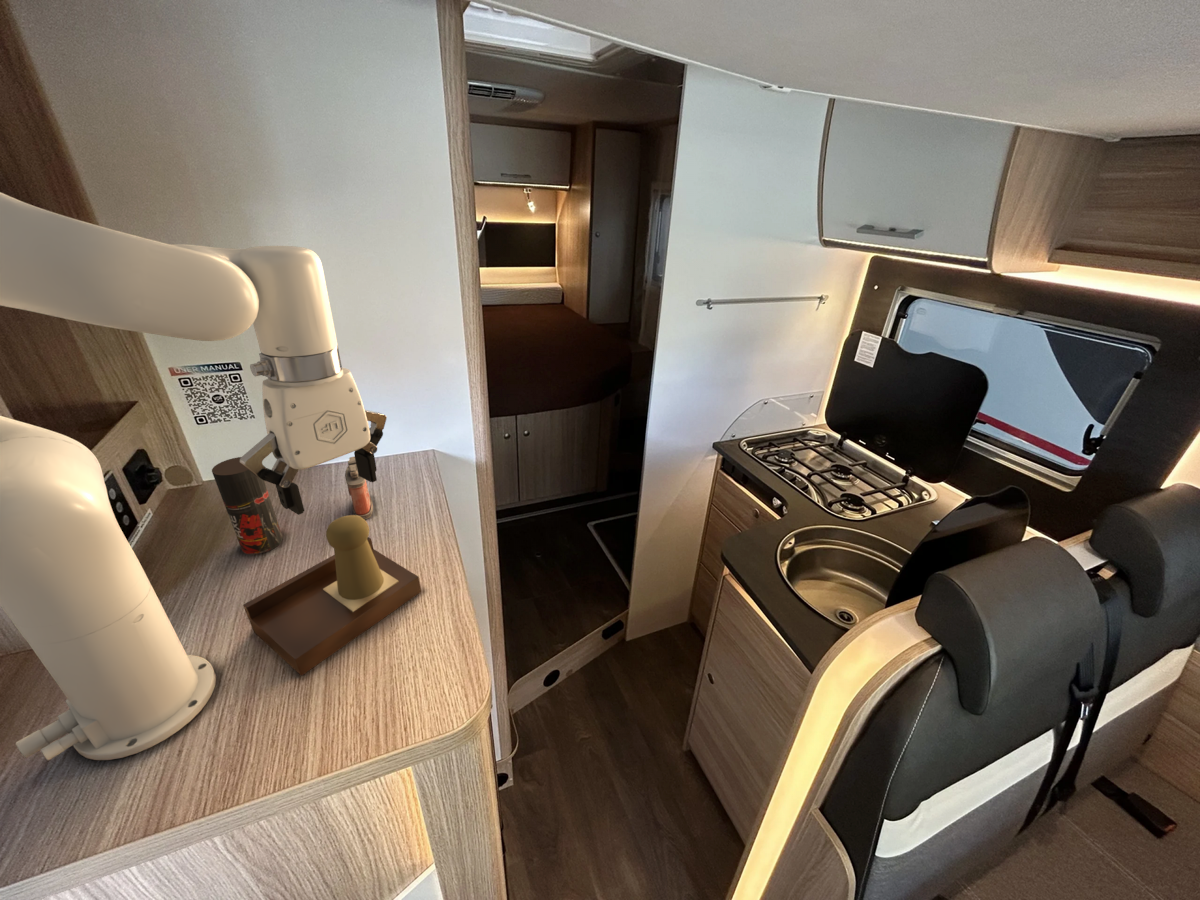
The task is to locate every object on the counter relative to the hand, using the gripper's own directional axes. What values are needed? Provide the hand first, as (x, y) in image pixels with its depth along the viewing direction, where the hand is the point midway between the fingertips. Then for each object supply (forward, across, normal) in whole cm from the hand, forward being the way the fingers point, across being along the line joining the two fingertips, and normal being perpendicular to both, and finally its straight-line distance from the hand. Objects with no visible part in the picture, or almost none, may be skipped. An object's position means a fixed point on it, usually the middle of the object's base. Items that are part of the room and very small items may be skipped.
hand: (333, 493), depth 64 cm
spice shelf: (+19, -2, +1) cm, 19 cm away
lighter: (+19, +15, +22) cm, 32 cm away
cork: (+16, +1, 0) cm, 16 cm away
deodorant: (+19, -1, +26) cm, 32 cm away
